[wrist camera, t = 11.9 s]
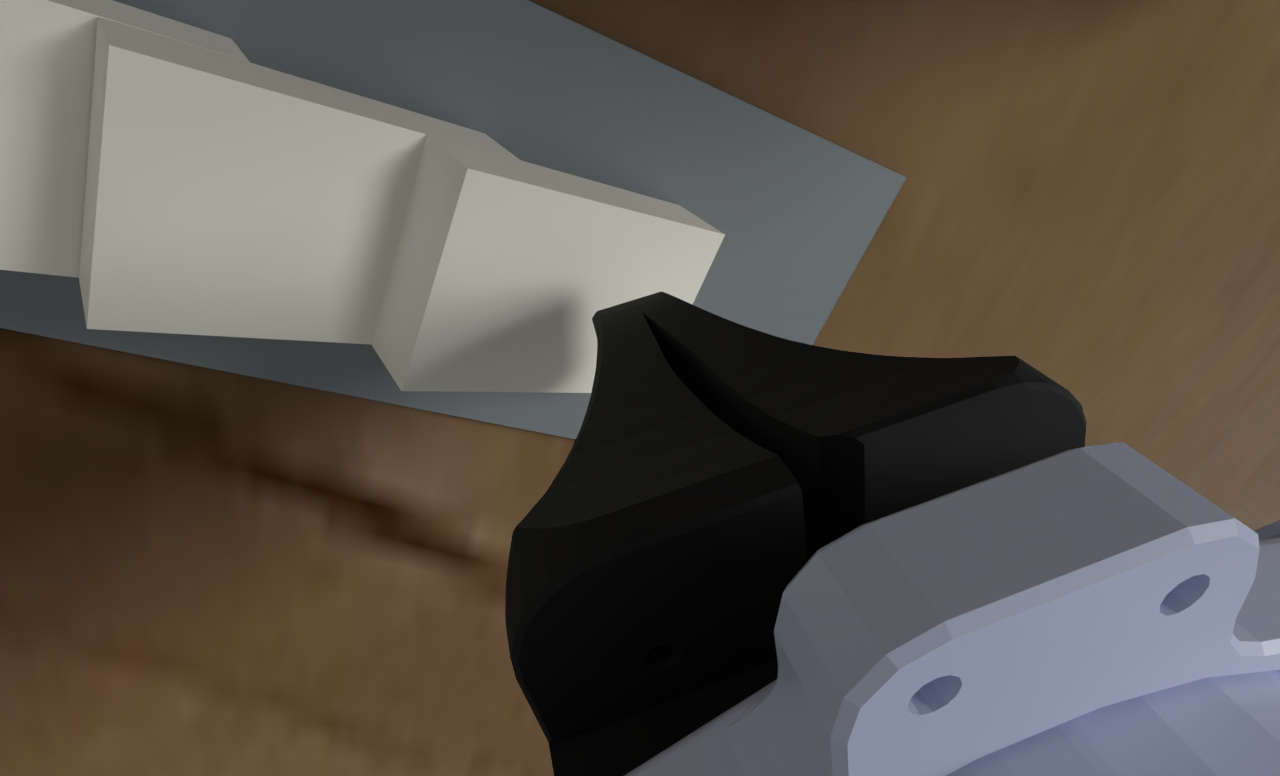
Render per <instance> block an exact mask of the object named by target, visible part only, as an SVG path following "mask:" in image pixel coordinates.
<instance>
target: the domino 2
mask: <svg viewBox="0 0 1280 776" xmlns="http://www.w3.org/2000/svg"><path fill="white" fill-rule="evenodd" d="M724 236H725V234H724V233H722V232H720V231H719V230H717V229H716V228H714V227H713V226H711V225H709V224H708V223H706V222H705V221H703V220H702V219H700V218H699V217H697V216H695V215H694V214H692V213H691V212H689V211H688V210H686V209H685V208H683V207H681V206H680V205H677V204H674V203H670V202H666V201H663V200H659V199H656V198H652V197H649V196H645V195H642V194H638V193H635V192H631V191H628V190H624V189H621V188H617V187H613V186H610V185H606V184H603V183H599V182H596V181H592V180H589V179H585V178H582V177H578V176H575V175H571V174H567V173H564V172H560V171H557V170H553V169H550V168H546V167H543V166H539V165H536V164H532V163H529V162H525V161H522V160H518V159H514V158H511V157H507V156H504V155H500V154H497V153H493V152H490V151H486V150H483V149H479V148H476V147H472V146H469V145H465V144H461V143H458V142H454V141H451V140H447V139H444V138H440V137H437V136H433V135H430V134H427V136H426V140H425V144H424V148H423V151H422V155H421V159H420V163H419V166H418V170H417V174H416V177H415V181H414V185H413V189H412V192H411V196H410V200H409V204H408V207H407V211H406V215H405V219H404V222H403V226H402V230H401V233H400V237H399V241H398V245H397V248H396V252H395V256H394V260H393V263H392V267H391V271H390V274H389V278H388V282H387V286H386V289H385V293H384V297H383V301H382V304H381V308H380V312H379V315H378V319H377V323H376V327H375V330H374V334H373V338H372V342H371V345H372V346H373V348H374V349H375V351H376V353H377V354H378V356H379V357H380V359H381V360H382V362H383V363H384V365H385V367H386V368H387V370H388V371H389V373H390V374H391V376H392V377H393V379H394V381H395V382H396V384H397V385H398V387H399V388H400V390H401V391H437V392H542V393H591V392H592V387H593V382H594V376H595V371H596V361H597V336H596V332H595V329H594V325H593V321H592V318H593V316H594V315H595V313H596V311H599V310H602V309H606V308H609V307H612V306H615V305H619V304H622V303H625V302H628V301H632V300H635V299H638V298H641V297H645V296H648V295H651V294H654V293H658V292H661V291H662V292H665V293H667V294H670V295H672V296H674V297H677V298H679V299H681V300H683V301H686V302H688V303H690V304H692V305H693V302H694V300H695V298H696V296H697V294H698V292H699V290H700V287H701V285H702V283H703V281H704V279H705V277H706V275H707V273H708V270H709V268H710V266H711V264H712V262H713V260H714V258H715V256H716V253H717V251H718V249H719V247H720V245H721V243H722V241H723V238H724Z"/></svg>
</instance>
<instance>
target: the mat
mask: <svg viewBox="0 0 1280 776" xmlns="http://www.w3.org/2000/svg"><path fill="white" fill-rule="evenodd" d="M113 1H116V2H119V3H123V4H126V5H129V6H132V7H135V8H138V9H141V10H144V11H147V12H151V13H154V14H157V15H160V16H163V17H166V18H169V19H172V20H175V21H179V22H182V23H185V24H188V25H191V26H194V27H197V28H200V29H203V30H206V31H210V32H213V33H216V34H219V35H222V36H225V37H228V38H231V39H232V40H233V41H234V42H235V44H236V45H237V46H238V47H239V49H240V50H241V51H242V53H243V54H244V55H245V56H246V58H247V59H248V60H249V62H250V63H254V64H257V65H260V66H264V67H267V68H270V69H273V70H277V71H280V72H283V73H287V74H290V75H293V76H297V77H300V78H303V79H307V80H310V81H313V82H317V83H320V84H323V85H327V86H330V87H333V88H336V89H340V90H343V91H346V92H350V93H353V94H356V95H360V96H363V97H366V98H370V99H373V100H376V101H380V102H383V103H386V104H389V105H393V106H396V107H399V108H403V109H406V110H409V111H413V112H416V113H419V114H423V115H426V116H429V117H433V118H436V119H439V120H442V121H446V122H449V123H452V124H456V125H459V126H462V127H466V128H469V129H472V130H476V131H479V132H482V133H485V134H486V135H488V136H489V137H490V138H492V139H493V140H494V141H496V142H497V143H498V144H500V145H501V146H502V147H504V148H505V149H506V150H508V151H509V152H510V153H512V154H513V155H514V156H516V157H517V158H518V159H520V160H522V161H525V162H529V163H532V164H536V165H539V166H543V167H546V168H550V169H553V170H557V171H560V172H564V173H567V174H571V175H575V176H578V177H582V178H585V179H589V180H592V181H596V182H599V183H603V184H606V185H610V186H613V187H617V188H621V189H624V190H628V191H631V192H635V193H638V194H642V195H645V196H649V197H652V198H656V199H659V200H663V201H666V202H670V203H674V204H677V205H680V206H681V207H683V208H685V209H686V210H688V211H689V212H691V213H692V214H694V215H695V216H697V217H699V218H700V219H702V220H703V221H705V222H706V223H708V224H709V225H711V226H713V227H714V228H716V229H717V230H719V231H720V232H722V233H724V234H725V236H724V238H723V241H722V243H721V245H720V247H719V249H718V251H717V253H716V256H715V258H714V260H713V262H712V264H711V266H710V268H709V270H708V273H707V275H706V277H705V279H704V281H703V283H702V285H701V287H700V290H699V292H698V294H697V296H696V298H695V300H694V302H693V305H694V306H697V307H699V308H701V309H703V310H706V311H708V312H710V313H713V314H715V315H717V316H720V317H722V318H725V319H727V320H730V321H732V322H735V323H738V324H740V325H743V326H746V327H749V328H752V329H755V330H758V331H761V332H764V333H767V334H770V335H773V336H776V337H780V338H784V339H787V340H791V341H796V342H800V343H805V344H809V345H813V343H814V341H815V339H816V338H817V336H818V334H819V332H820V330H821V329H822V327H823V325H824V323H825V322H826V320H827V318H828V316H829V314H830V313H831V311H832V309H833V307H834V306H835V304H836V302H837V300H838V298H839V297H840V295H841V293H842V291H843V289H844V288H845V286H846V284H847V282H848V281H849V279H850V277H851V275H852V273H853V272H854V270H855V268H856V266H857V265H858V263H859V261H860V259H861V257H862V256H863V254H864V252H865V250H866V249H867V247H868V245H869V243H870V241H871V240H872V238H873V236H874V234H875V233H876V231H877V229H878V227H879V225H880V224H881V222H882V220H883V218H884V217H885V215H886V213H887V211H888V209H889V208H890V206H891V204H892V202H893V200H894V199H895V197H896V195H897V193H898V192H899V190H900V188H901V186H902V184H903V183H904V181H905V179H906V177H904V176H902V175H900V174H898V173H896V172H893V171H891V170H889V169H887V168H885V167H883V166H881V165H878V164H876V163H874V162H872V161H870V160H868V159H866V158H864V157H861V156H859V155H857V154H855V153H853V152H851V151H849V150H847V149H844V148H842V147H840V146H838V145H836V144H834V143H832V142H829V141H827V140H825V139H823V138H821V137H819V136H817V135H815V134H812V133H810V132H808V131H806V130H804V129H802V128H800V127H797V126H795V125H793V124H791V123H789V122H787V121H785V120H783V119H780V118H778V117H776V116H774V115H772V114H770V113H768V112H765V111H763V110H761V109H759V108H757V107H755V106H753V105H751V104H748V103H746V102H744V101H742V100H740V99H738V98H736V97H733V96H731V95H729V94H727V93H725V92H723V91H721V90H719V89H716V88H714V87H712V86H710V85H708V84H706V83H704V82H702V81H699V80H697V79H695V78H693V77H691V76H689V75H687V74H684V73H682V72H680V71H678V70H676V69H674V68H672V67H670V66H667V65H665V64H663V63H661V62H659V61H657V60H655V59H652V58H650V57H648V56H646V55H644V54H642V53H640V52H638V51H635V50H633V49H631V48H629V47H627V46H625V45H623V44H620V43H618V42H616V41H614V40H612V39H610V38H608V37H606V36H603V35H601V34H599V33H597V32H595V31H593V30H591V29H588V28H586V27H584V26H582V25H580V24H578V23H576V22H574V21H571V20H569V19H567V18H565V17H563V16H561V15H559V14H556V13H554V12H552V11H550V10H548V9H546V8H544V7H542V6H539V5H537V4H535V3H533V2H531V1H529V0H113ZM0 328H3V329H8V330H14V331H19V332H24V333H29V334H34V335H39V336H44V337H50V338H55V339H60V340H65V341H70V342H75V343H81V344H86V345H91V346H96V347H101V348H106V349H112V350H117V351H122V352H127V353H132V354H137V355H143V356H148V357H153V358H158V359H163V360H168V361H174V362H179V363H184V364H189V365H194V366H199V367H205V368H210V369H215V370H220V371H225V372H230V373H236V374H241V375H246V376H251V377H256V378H261V379H266V380H272V381H277V382H282V383H287V384H292V385H297V386H303V387H308V388H313V389H318V390H323V391H328V392H334V393H339V394H344V395H349V396H354V397H359V398H365V399H370V400H375V401H380V402H385V403H390V404H396V405H401V406H406V407H411V408H416V409H421V410H427V411H432V412H437V413H442V414H447V415H452V416H458V417H463V418H468V419H473V420H478V421H483V422H488V423H494V424H499V425H504V426H509V427H514V428H519V429H525V430H530V431H535V432H540V433H545V434H550V435H556V436H561V437H566V438H571V439H576V438H577V435H578V433H579V431H580V429H581V426H582V423H583V420H584V417H585V414H586V411H587V408H588V404H589V401H590V397H591V393H542V392H437V391H401V390H400V388H399V387H398V385H397V384H396V382H395V381H394V379H393V377H392V376H391V374H390V373H389V371H388V370H387V368H386V367H385V365H384V363H383V362H382V360H381V359H380V357H379V356H378V354H377V353H376V351H375V349H374V348H373V346H372V345H371V344H353V343H335V342H316V341H298V340H280V339H262V338H243V337H225V336H207V335H189V334H170V333H152V332H134V331H116V330H97V329H87V327H86V320H85V314H84V308H83V302H82V295H81V289H80V283H79V278H77V277H67V276H57V275H48V274H38V273H28V272H18V271H9V270H0Z"/></svg>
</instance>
